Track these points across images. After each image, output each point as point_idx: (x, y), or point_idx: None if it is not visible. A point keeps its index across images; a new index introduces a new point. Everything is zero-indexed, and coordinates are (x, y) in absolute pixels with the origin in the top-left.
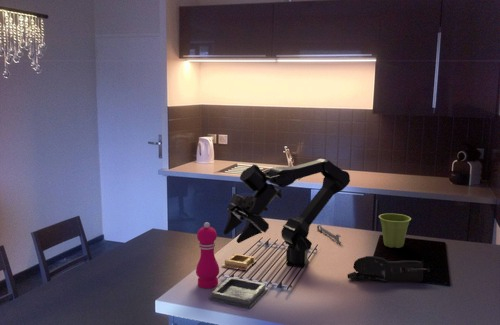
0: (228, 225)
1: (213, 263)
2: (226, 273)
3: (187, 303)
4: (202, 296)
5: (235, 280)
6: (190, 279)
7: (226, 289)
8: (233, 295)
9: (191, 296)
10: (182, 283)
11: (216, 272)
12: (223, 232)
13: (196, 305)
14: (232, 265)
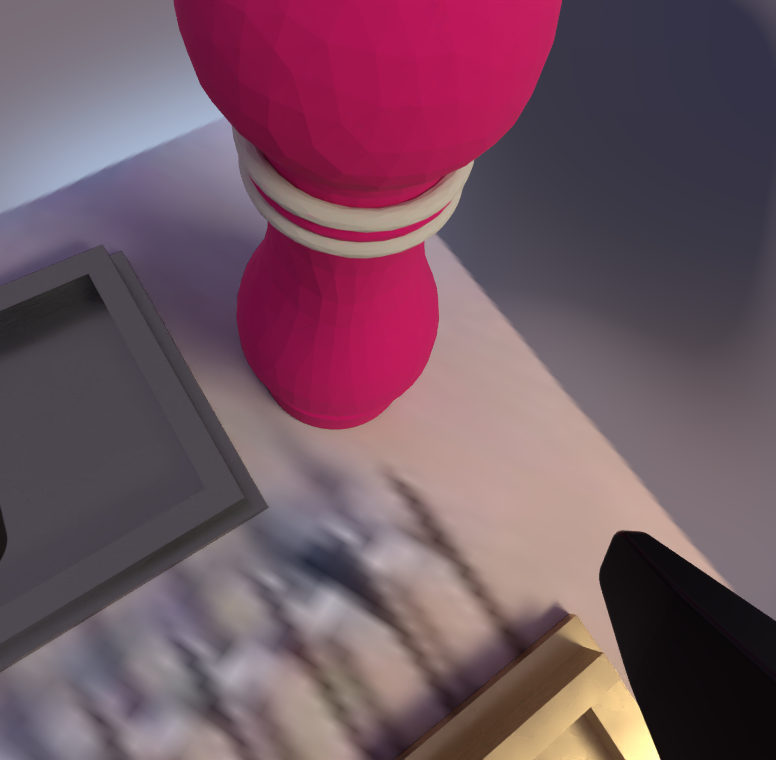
0: (773, 711)
1: (256, 288)
2: (431, 576)
3: (176, 153)
4: (196, 252)
5: (171, 509)
6: (466, 308)
7: (145, 403)
8: (24, 393)
9: (240, 206)
10: (436, 245)
11: (242, 343)
12: (632, 531)
13: (117, 175)
14: (526, 698)
